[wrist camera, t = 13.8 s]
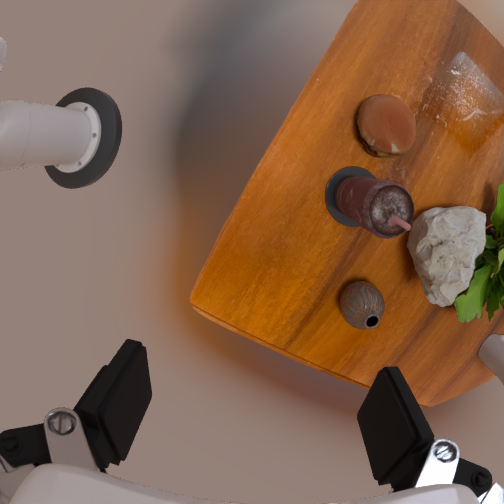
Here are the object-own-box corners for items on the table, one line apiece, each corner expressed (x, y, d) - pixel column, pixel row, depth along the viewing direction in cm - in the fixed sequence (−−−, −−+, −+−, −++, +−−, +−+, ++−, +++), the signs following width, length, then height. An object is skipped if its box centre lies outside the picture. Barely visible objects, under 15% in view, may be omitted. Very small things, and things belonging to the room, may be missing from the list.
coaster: (320, 221, 40) (320, 221, 40) (329, 160, 38) (330, 160, 37) (374, 230, 40) (375, 231, 40) (385, 173, 38) (386, 173, 37)
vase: (365, 316, 45) (382, 344, 36) (330, 309, 44) (341, 338, 36) (380, 280, 43) (401, 304, 34) (344, 271, 42) (360, 295, 34)
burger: (393, 91, 34) (406, 84, 29) (416, 145, 36) (431, 144, 31) (340, 108, 35) (349, 102, 31) (366, 165, 38) (377, 166, 33)
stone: (475, 190, 34) (523, 254, 24) (466, 234, 41) (501, 297, 30) (398, 206, 38) (437, 283, 27) (396, 252, 45) (424, 324, 34)
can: (362, 224, 40) (402, 251, 26) (326, 204, 39) (355, 224, 26) (380, 189, 38) (427, 201, 25) (345, 168, 37) (382, 169, 24)
